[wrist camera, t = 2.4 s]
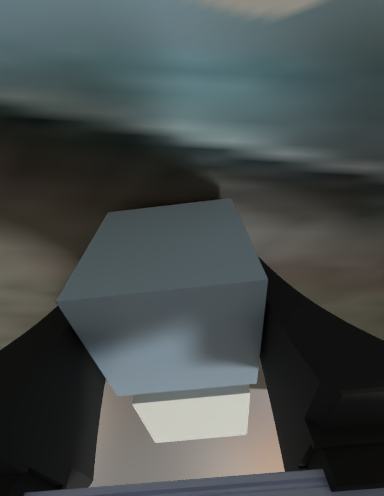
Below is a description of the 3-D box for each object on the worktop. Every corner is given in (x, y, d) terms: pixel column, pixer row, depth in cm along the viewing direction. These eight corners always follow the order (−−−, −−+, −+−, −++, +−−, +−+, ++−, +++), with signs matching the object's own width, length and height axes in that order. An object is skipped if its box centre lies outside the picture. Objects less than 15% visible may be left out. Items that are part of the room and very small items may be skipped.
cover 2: (229, 304, 16) (250, 393, 11) (231, 352, 19) (246, 434, 15) (145, 313, 16) (132, 404, 11) (161, 359, 19) (155, 443, 15)
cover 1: (231, 197, 11) (268, 279, 6) (232, 287, 14) (256, 383, 9) (107, 212, 11) (55, 302, 6) (137, 297, 14) (117, 396, 10)
